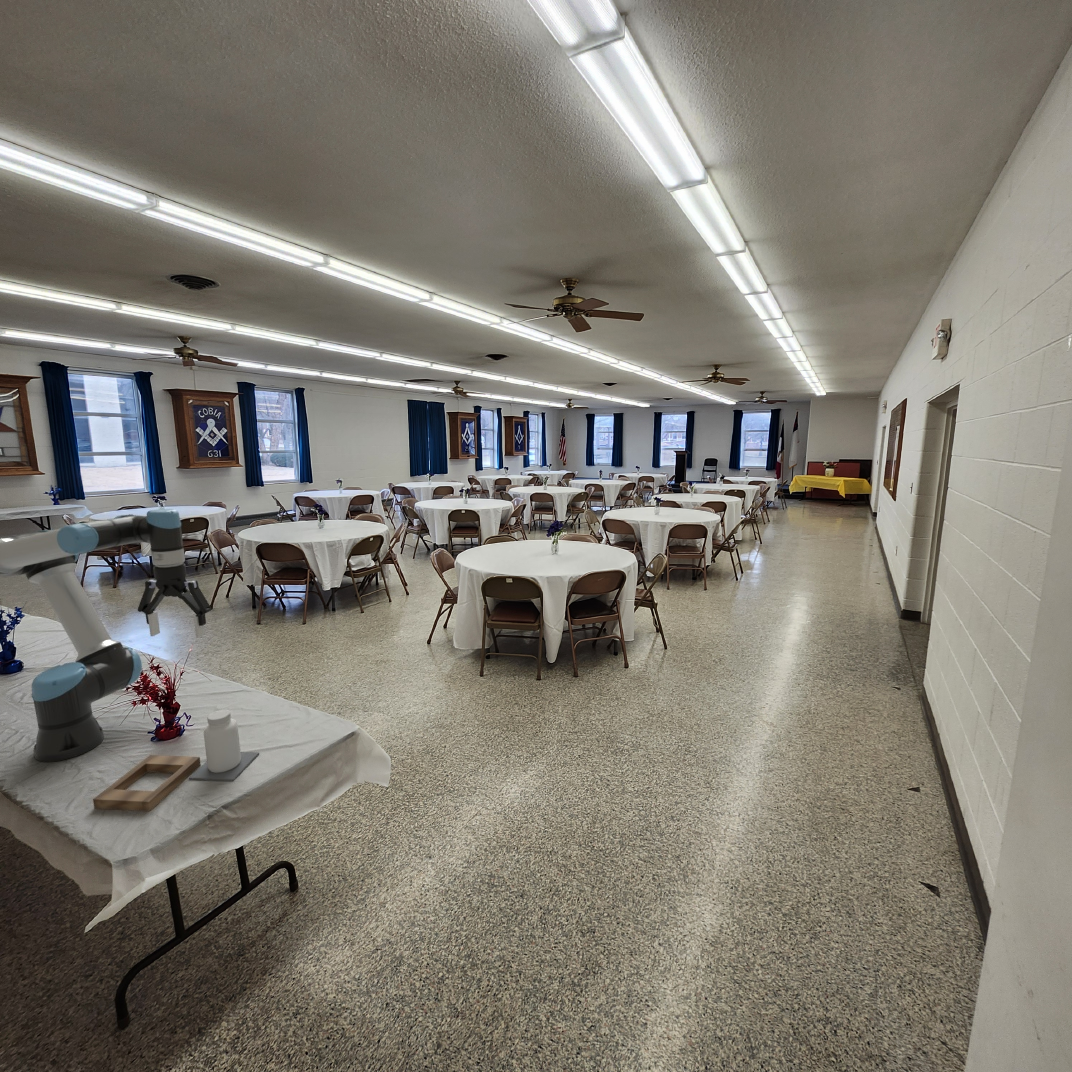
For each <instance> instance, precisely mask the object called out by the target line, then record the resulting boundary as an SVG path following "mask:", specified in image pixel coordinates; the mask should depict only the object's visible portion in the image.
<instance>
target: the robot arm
mask: <svg viewBox="0 0 1072 1072" xmlns="http://www.w3.org/2000/svg"><path fill="white" fill-rule="evenodd" d="M136 543H148V544H149V545H150V552H151V560H152V565H154V566H153V568H152V569H153V577H154V578H152V579H149V580H147V581H146V580H145V582H144V591H143V594H142V596H141V599H140V602H139V604H138V606H137V612H139V613H144V614H145V619H146V625H148V628H149V634H150V637H155V636H156V635H159V634H161V631H160V630H161V629H160V628H161V627H160V623H159V622H160V621H159V614H158V611H156V610H157V608H158V607H159V605H160V603H161V602H163V600H164V598H166V597H171V598H172V597H173V598H176V597H177V598H178V599H181V600H182V601H183V602H184V603H185V605H187V607H189V609H190V610H191V611H193V613H194V614H195V615H193V620H194V629H195V630H194V631H195V638H196V639H200V638H201V637H203V636H204V635H206V632H205V631H206V630H205V625H206V623H207V620H206V614H207V613H209V612H211V611H212V610H213V608H212V606H211V605H210V603H209V602H208V600H207V598H206V597H205V594H204V593H203V591H202V590H201V588H200V587H199V582H198V580H196V579H194V580H192V581H187V578H186V577H187V569H186V568H187V567H186V564H185V563H184V562H185V561H186V559H185V557H186V555H185V549H184V543H183V533H182V521H181V517H180V513H179V511H178V510H176V509H174V508H159V509H157V508H156V509H150V510H149V511H147V512H146V515H138V514H121V515H117V516H116V517H114V518H107V519H102V520H95V521H88V522H78V523H77V522H76V523H72V524H69V525H65V526H63V527H61V528H58V529H57V528H56V529H47V530H46V529H44V530H43V529H42V530H37V531H32V532H26V533H20V534H13V535H8V536H7V535H6V536H5V535H4V536H0V578H9V577H11V578H12V577H15V576H16V577H17V576H20V575H25V577H26V578H27V580H28V582H29V583H33V584H37V585H38V586H39V588H40V589H41V591H42V593H43V594H44V595H45V598H46V600H47V602H48V603H49V605H50V607H51V608H52V611H53V612H54V614H55V615H56V617H57V619H58V621H59V623H60V624H61V626H62V628H63V630H64V632H65V634H66V636H68V638H69V640H70V642H71V644H72V645H73V647H74V649H75V651H76V652H77V656H76V659H75V661H73V662H67V663H64V664H58V665H55V666H53V667H50V668H48V669H45V670H44V671H42V672H41V673H39V674H37V675H36V676H35V677H34V679H33V680H32V682H31V698H32V700H33V701H32V702H33V705H34V710H35V716H36V721H37V726H38V730H37V734H36V735H37V736H36V741H35V744H34V747H33V755H34V756H33V757H34V758H35V760H36V761H39V762H42V763H44V762H46V763H52V762H59V761H63V760H68V759H72V758H74V757H77V756H78V757H79V756H80V755H83V754H85V753H87V752H90V751H92V750H93V749H95V748H96V747H97V746H99V745H100V744H102V742H103V741H104V738H105V734H104V730H103V728H102V726H100V723H99V722H98V720H97V719H96V718H95V716H94V715H93V710H92V703H94V702H96V701H98V700H100V699H103V698H105V697H107V696H109V695H111V694H114V693H116V692H118V691H120V690H123V689H125V688H127V687H128V686H130V685H132V684H134V683H135V682H136V681H137V680H138V679H139V678H140V677H141V674H142V670H143V662H142V659H141V656H140V654H139V653H138V652H137V651H136V650H135V649H133V648H132V647H130V646H129V647H128V646H123V645H122V643H121V641H118V640H114V639H112V637H111V635H110V634H109V632H108V630H107V629H106V626H105V625H104V623H103V621H102V619H101V618H100V616H99V614H98V612H97V611H96V609H95V607H94V606H93V604H92V602H91V600H90V598H89V597H88V595H87V592H86V591H85V590H84V588H83V586H82V584H81V582H80V580H79V579H78V577H77V575H76V573H75V570H76V568H77V566H78V564H77V563H76V562H77V560H78V559H79V556H80V554H86V553H90V552H93V551H94V552H95V551H99V550H103V549H108V548H114V547H119V546H125V545H129V544H136ZM156 589H158V590H157V592H156V593H155V591H156ZM154 593H155V594H154ZM153 596H154V597H153Z"/></svg>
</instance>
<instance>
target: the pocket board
mask: <svg viewBox="0 0 1072 1072" xmlns="http://www.w3.org/2000/svg"><path fill="white" fill-rule="evenodd" d="M201 766H202V764H201V758H200V756H189V755H187V756H186V755H185V756H184V755H182V756H181V755H180V756H179V755H163V754H161V755H160V754H158V755H157V754H155V755H154V754H150V755H148V756H146V758H144V759H143V760H141V761H140V762H139V763H138V764H136V766H134V767H133V768H131V769H130V770H129V771H128V772H127V773H125V774H123V776H121V777H120V778H119V779H117V780H115V782H113V783H112V784H110V785H109V786H108V787H107V788H106V789H104V790H102V792H100V793H99V794H97V796H95V797H94V798H92V802H93V808H94V809H95V810H96V809H98V810H100V809H101V810H102V809H103V810H104V809H105V810H121V811H143V812H150V811H152V810H154V808H155V807H156V806H157V805H159V804H160V803H161V802H162V801H164V800H165V798H166V797H167V796H169V795H170V794H171V793H172V792H173V791H174V790H176V788H177V787H179V785H181V784H182V783H183V782H184V781H185V780H186V779H187V778H189V777H190V776H191V775H192V774H193V773H194V772H195V771H197V770H198V769H199V768H200V767H201ZM146 773H160V774H161V773H164V774H166V773H167V774H172V775H170V777H168V778H167V779H166V780H165V781H163V782H162V783H161V784H160V786H157V788H155V789H154V790H140V789H139V790H135V789H128V788H129V787H130V786H132V785H133V784H134V783H135V782H136V781H138V780H139V779H140V778H142V777H143V776H144V775H145V774H146Z"/></svg>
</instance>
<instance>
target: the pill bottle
mask: <svg viewBox="0 0 1072 1072" xmlns="http://www.w3.org/2000/svg"><path fill="white" fill-rule="evenodd" d="M238 725H239V724H238V722H237V720H236V719H234V718H232V716H231V711H230V710H228V709H219V710H216V711H213V712H211V713H210V714H208V715H207V725H206V726H205V727H204V729H203V740H204V748H205V749H204V750H205V757H206V761H207V766H208V769H209V770H210V771H211V772H215V773H219V772H225V771H228V770H231V769H233V768H234V767H236V766H237V765H238V764H239V763H240V761H241V752H242V751H241V746H240V745H241V744H240V735H239V734H240V733H239V726H238Z"/></svg>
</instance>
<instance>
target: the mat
mask: <svg viewBox="0 0 1072 1072" xmlns="http://www.w3.org/2000/svg"><path fill="white" fill-rule="evenodd" d="M240 752H241V761H240V763H239V764H238V765H237V766H236V767H234V768H233V769H231V770H228V771H225V772H219V773H215V772H211V771H210V770H209V769H208V766H207V760H206V761H205V762H204V763H203V764H201V765H200V766H199V767H198V768H197V769H196V770H195V771H194V772H193V773H192V774H190V775H189V776H188V779H189V780H196V781H199V780H200V781H217V782H218V781H219V782H220V781H221V782H224V781H225V782H234V781H235V780H236V779H237V778H238V776H240V775H241V774H242V773H243V772H244V771H245V770H246V768H248V766H249V765H250V764H252V762H253V761H254V760H255V759H256V758H257V757H258V756H259V755H260V752H259V751H258V752H257V751H256V752H255V751H254V752H253V751H240Z"/></svg>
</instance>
